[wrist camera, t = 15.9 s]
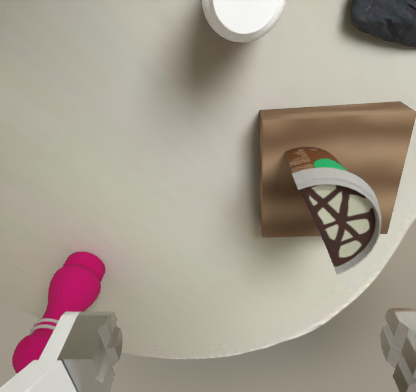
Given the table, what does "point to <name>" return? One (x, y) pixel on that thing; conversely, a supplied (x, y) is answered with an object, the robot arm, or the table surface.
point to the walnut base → (340, 148)
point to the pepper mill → (62, 303)
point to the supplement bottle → (242, 17)
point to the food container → (337, 205)
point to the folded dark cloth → (387, 19)
